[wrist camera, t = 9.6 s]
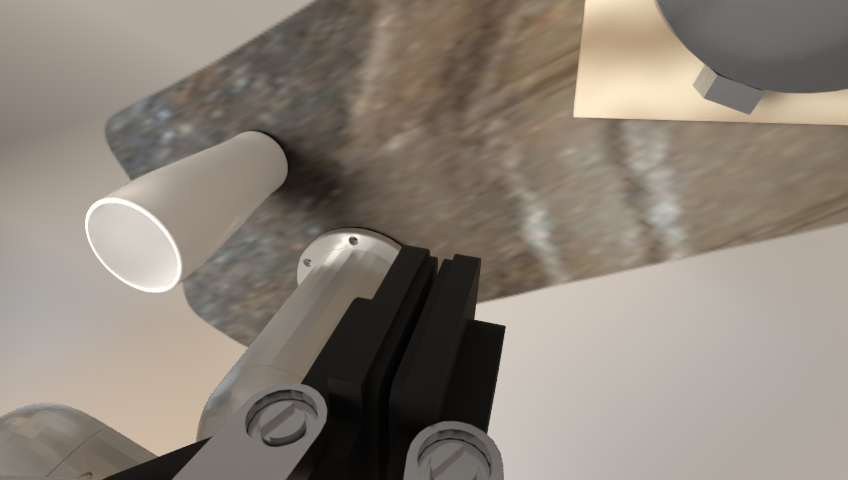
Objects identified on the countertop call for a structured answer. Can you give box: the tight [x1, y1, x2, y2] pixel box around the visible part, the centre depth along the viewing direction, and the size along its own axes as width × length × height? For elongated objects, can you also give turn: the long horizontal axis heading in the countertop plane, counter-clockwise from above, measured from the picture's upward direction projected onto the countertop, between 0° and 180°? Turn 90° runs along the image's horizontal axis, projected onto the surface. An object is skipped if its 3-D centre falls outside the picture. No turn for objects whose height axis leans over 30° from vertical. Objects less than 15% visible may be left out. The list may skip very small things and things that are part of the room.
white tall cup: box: [85, 131, 288, 292], centre depth 37 cm, size 7×7×15 cm
